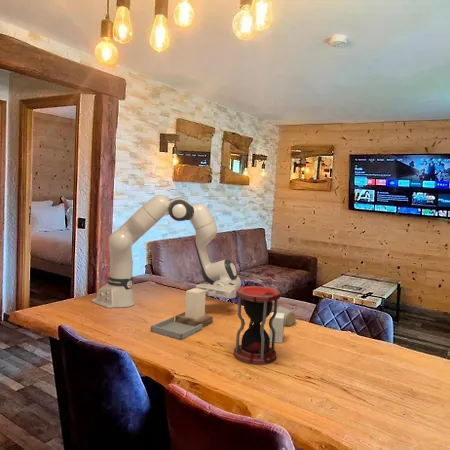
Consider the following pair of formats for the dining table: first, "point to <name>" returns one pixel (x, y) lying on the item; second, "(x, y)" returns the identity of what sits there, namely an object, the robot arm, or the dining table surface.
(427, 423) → the dining table surface
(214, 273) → the robot arm
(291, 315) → the ceramic mug
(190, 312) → the cream block
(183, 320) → the brown flat block
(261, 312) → the hourglass
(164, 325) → the gray tray
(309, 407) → the dining table surface
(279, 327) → the small box
